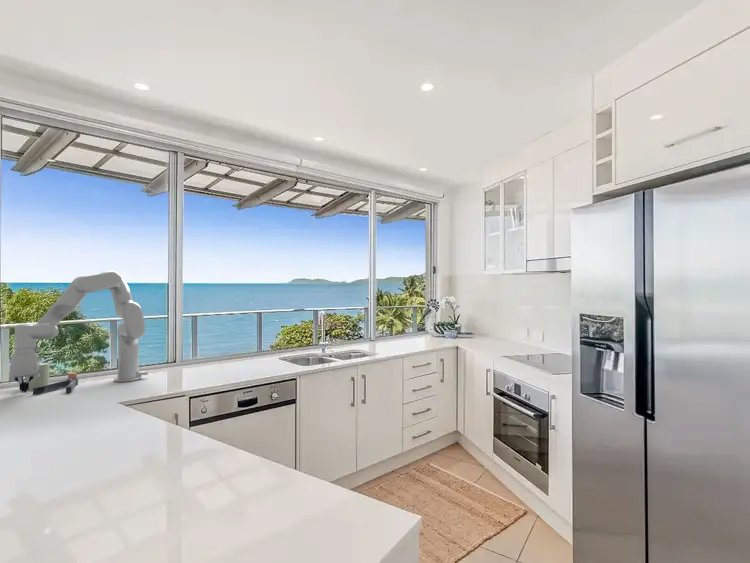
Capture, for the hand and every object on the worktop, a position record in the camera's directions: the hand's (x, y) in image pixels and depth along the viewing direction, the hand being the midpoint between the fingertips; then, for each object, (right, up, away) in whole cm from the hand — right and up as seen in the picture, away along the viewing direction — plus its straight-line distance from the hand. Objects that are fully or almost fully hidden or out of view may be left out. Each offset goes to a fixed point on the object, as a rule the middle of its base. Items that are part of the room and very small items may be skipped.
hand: (24, 391), depth 185 cm
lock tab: (+6, +2, +21) cm, 22 cm away
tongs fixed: (+12, -2, +12) cm, 17 cm away
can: (-6, -2, +14) cm, 15 cm away
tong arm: (+6, -1, +8) cm, 10 cm away
